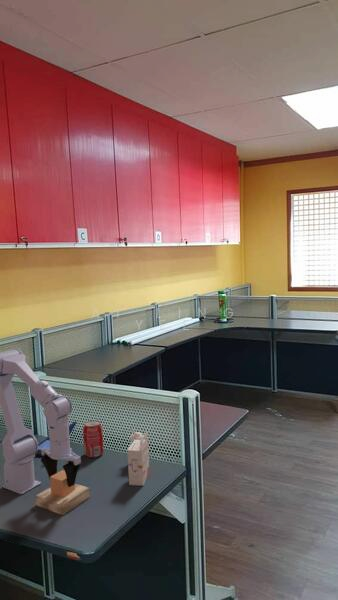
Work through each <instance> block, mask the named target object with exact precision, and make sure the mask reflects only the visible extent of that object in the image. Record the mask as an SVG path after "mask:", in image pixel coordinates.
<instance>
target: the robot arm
mask: <svg viewBox="0 0 338 600" xmlns="http://www.w3.org/2000/svg"><path fill="white" fill-rule="evenodd" d="M26 359H27V358H26V355H25V354H24V353H23V352H22V351H21V349H20V348H13V349H10V350H5V351H2V352H0V411H1V413H2V418H3V421H4V424H5V429H6V430H7V433H6V435H5V437H3V439H2V441H1V444H2V456H3V459H4V460H5V462H4V465H3V477H4V484H3V485H2V488H4V489H7V490H9V491H11V492H14V493H17V494H20V495H24V494H25V493H27V492H29V491H30V490H32V489H35V488H36V487H37V486H39V485H41V484H42V481H39V480H36V479H35V478H36V476H35V465H34V464H35V463H34V461H35V460H34V458H35V457H36V456H35V453H36V452H37V451H38V445H39V442H38V440H37V438H36V437H35V435H34V431H33V430H32V429H30V428H29V427H28V428H27V427H25V424H24V421H23V417H22V413H21V410H20V406H19V404H18V403H19V402H18V400H17V396H16V392H15V389H14V385H13V383H12V380H13V378H14V376H15V375H16V376H17V377H18V378H19V379H20V380H21V381H23V383H24V384H26V385H27V386H28V387H29V388H30V395H31V396H32V397H33V399H35V401H36V402H37V403H38V404H39V405H40V406H41V407H42V408H43V410H42V411H43V412H42V413H43V415H44V417H45V419H46V424H47V426H48V435H49V437H50V447H44V448H42V449H41V453H42V455H43V456H44V457H41V458H40V462H41V463H42V464H43V466H44V468H45V470H46V472H47V475H48V476H47V477H48V479H49V480H50V477H51V476H52V475H54V474H56V473H58V461H65V462H67V463H66V464H64V465H62V468H63V470H64V471H65V473H66V477H67V484H68V487H71V486H73V485H74V484H76V478H77V474H78V472H79V469H80V466H81V465H82V459H81V458H82V457H81V456H80V455H77V454H76V453H75V452H74V451H73V448H72V447H71V444H70V443H71V442H70V436H69V426H70V424H69V415H70V414H71V413H72V411H73V404H72V402H71V400H70V399H69V397H68V396H67V395H62V394H61V393H59V394H58V392H57V391H56V390H55V389H54V388H53V387H52V385H50V384H49V382H48V381H46V380H40V379H39V377H38V376H37V375H36V373H35V372H34V370H33V369H32V368H31V367H30V365H28V363H27V360H26Z"/></svg>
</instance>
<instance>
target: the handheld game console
mask: <svg viewBox="0 0 338 600" xmlns="http://www.w3.org/2000/svg"><path fill="white" fill-rule="evenodd" d="M76 424H77V420H75V421H73V422H72V423H70V424H69V437H70V436H71V434H72V432H73V430H74V428H75V426H76ZM44 447H50V437H47V438H45V439H43V440H42V441H41V442H39V443H38V451H37V452H36V453H35V457H36V456H37V457H36V458H44V456H43V455H42V453H41V449H42V448H44Z"/></svg>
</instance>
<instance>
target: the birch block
mask: <svg viewBox="0 0 338 600" xmlns="http://www.w3.org/2000/svg"><path fill="white" fill-rule="evenodd" d="M88 499H90V487H88V486H85V485H82V484H77V483H75V490H74V491H72V492H70V493H69V494H67V495H66V496H64V497H61V496H58V495H55V494H53V493H51V486H50V487H48V488H46V489H44V490H43V491H41V492H39V493H37V494H36V495H35V501H36V502H35V504H36V506H38V507H40V508H42V509H43V508H44V509H45V510H49V511H51V512H54V513H56V514H59V515H61V516H64V515H66V514H68V512H71V511H72V510H73V509H74V508H76V507H77V506H79V505H81V504H82V503H84V502H85V501H87V500H88Z"/></svg>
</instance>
